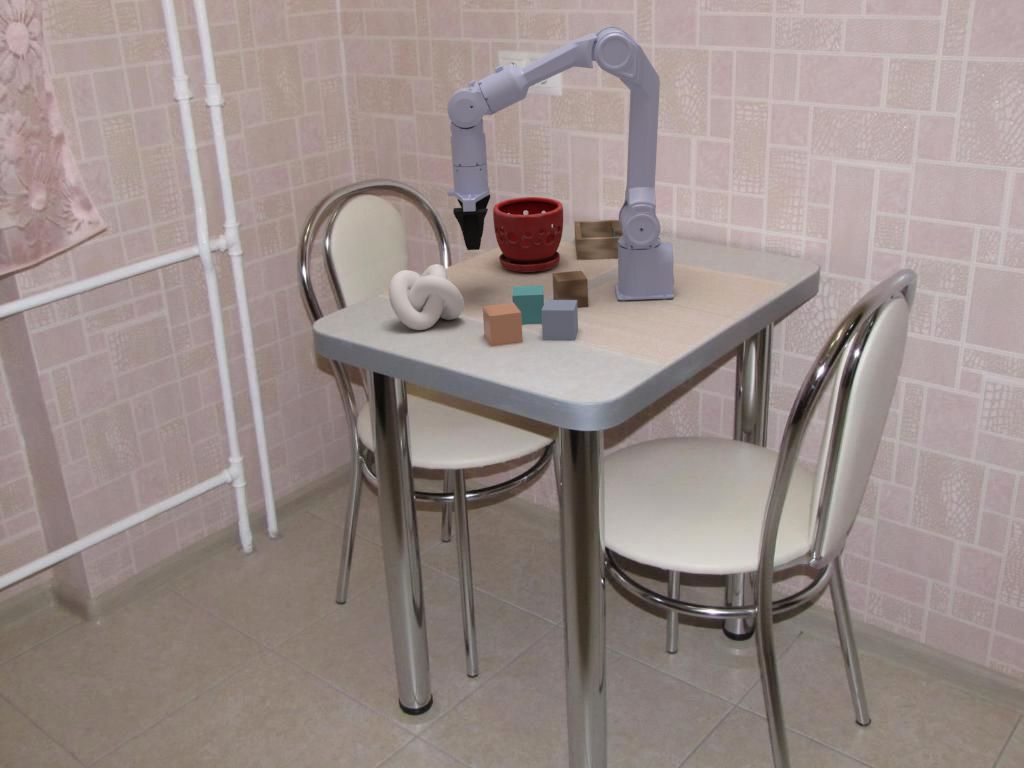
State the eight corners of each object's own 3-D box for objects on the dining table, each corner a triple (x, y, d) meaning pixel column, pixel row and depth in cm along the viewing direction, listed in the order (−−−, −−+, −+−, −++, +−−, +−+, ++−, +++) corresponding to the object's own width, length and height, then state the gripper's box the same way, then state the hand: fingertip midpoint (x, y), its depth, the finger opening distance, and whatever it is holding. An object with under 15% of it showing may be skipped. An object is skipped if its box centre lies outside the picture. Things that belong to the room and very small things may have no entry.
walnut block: (581, 298, 183) (581, 270, 181) (588, 307, 179) (587, 278, 177) (553, 301, 183) (552, 273, 181) (559, 310, 178) (558, 281, 176)
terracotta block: (514, 332, 169) (513, 302, 167) (522, 342, 165) (521, 312, 163) (484, 336, 168) (482, 306, 166) (491, 346, 164) (489, 316, 162)
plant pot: (482, 267, 203) (478, 205, 198) (533, 253, 211) (531, 193, 206) (527, 281, 194) (524, 216, 189) (579, 265, 201) (577, 203, 197)
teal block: (544, 313, 177) (543, 285, 175) (544, 323, 172) (543, 294, 170) (514, 315, 177) (513, 286, 175) (513, 325, 172) (512, 295, 170)
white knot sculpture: (478, 313, 178) (475, 262, 175) (447, 338, 168) (443, 284, 165) (418, 308, 182) (413, 258, 179) (384, 332, 172) (379, 279, 169)
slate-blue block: (578, 329, 169) (577, 300, 167) (574, 341, 164) (573, 310, 162) (546, 329, 170) (545, 299, 168) (542, 340, 165) (541, 310, 163)
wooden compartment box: (643, 237, 217) (643, 218, 215) (650, 257, 204) (650, 236, 202) (575, 240, 217) (574, 221, 216) (577, 259, 204) (576, 239, 203)
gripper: (449, 156, 183) (454, 233, 188) (441, 173, 169) (447, 256, 175) (490, 154, 182) (494, 231, 188) (485, 171, 169) (490, 254, 174)
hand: (474, 243), depth 181 cm, fingers open, 7 cm apart
